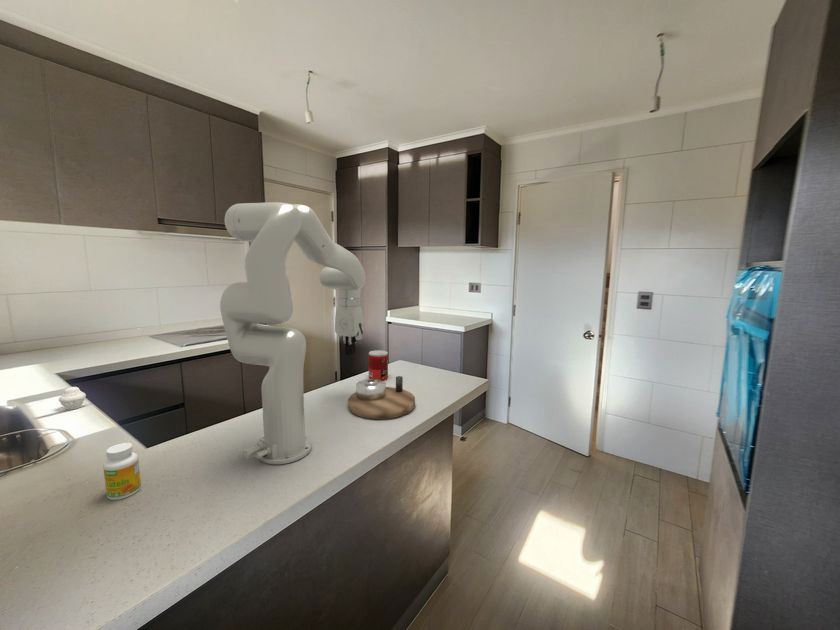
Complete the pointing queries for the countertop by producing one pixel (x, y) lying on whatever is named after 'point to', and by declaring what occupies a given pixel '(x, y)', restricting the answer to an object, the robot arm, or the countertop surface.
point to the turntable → (384, 403)
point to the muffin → (72, 398)
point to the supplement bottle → (121, 471)
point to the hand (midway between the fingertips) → (350, 354)
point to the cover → (370, 389)
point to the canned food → (378, 365)
